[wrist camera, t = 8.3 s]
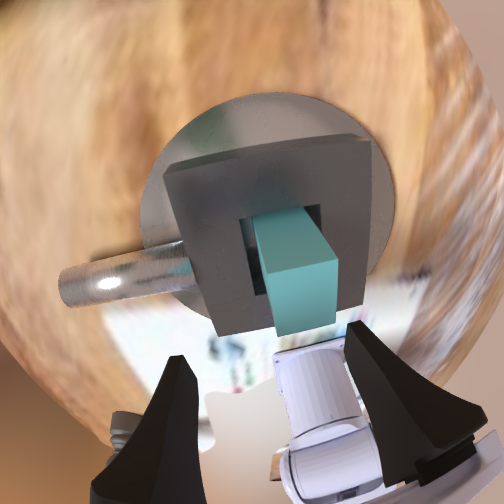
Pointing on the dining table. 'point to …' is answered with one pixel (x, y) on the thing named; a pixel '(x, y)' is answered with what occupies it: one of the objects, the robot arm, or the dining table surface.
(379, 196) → the rosette bracket
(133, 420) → the candle holder
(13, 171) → the dining table surface
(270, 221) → the teal rectangular prism
